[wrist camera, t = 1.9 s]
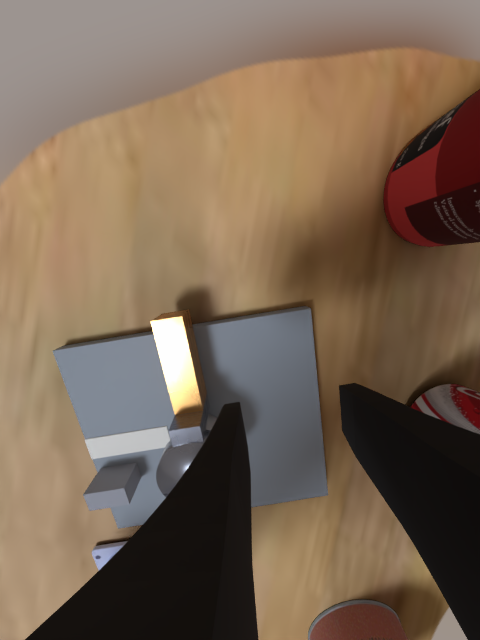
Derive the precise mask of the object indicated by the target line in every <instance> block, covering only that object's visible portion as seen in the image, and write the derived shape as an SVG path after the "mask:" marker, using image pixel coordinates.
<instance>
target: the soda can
mask: <svg viewBox="0 0 480 640" xmlns="http://www.w3.org/2000/svg"><path fill="white" fill-rule="evenodd" d="M411 408H413V409H416V410H418V411H420V412H423V413H425V414H428V415H430V416H433V417H435V418H438V419H440V420H443V421H445V422H448V423H450V424H453V425H455V426H458V427H461V428H464V429H466V430H469V431H472V432H475V433H478V434H480V393H479V392H477V391H474V390H472V389H469V388H467V387H464V386H462V385H457V384H445V385H440V386H437V387H434V388H432V389H430V390H428V391H426V392H425V393H423V394H422V395H421V396H420V397H418V398H417V399H416V401H415V402H414V403H413V404H412V406H411Z"/></svg>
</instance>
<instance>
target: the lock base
mask: <svg viewBox="0 0 480 640" xmlns="http://www.w3.org/2000/svg"><path fill="white" fill-rule="evenodd" d="M193 330H194V335H195V339H196V344H197V349H198V353H199V358H200V363H201V367H202V372H203V376H204V381H205V386H206V390H207V395H208V400H209V404H210V407H209V413H208V419H207V425H206V430H210V431H211V429H212V427H213V425H214V423H215V421H216V419H217V417H218V415H219V413H220V411H221V409H222V407H223V406H224V404H229V403H235V402H240V405H241V411H242V416H243V422H244V427H245V433H246V438H247V444H248V452H249V461H250V471H251V507H257V506H263V505H269V504H276V503H282V502H288V501H295V500H301V499H307V498H313V497H320V496H326V495H328V489H327V478H326V468H325V457H324V446H323V435H322V424H321V413H320V403H319V392H318V381H317V370H316V359H315V348H314V338H313V327H312V316H311V308H309V307H307V306H302V307H296V308H290V309H284V310H278V311H272V312H265V313H259V314H253V315H247V316H241V317H235V318H229V319H223V320H217V321H211V322H205V323H199V324H193ZM53 353H54V356H55V359H56V361H57V364H58V367H59V370H60V372H61V375H62V378H63V380H64V383H65V386H66V389H67V391H68V394H69V397H70V399H71V402H72V405H73V407H74V410H75V413H76V416H77V418H78V421H79V424H80V426H81V429H82V432H83V435H84V437H85V442H86V445H87V448H88V450H89V453H90V456H91V458H92V459H93V462H94V464H95V467H96V470H97V472H98V473H97V475H96V476H95V478H94V479H93V481H92V482H91V484H90V485H89V487H88V488H87V490H86V491H85V493H84V494H83V495H84V498H85V500H86V503H87V505H88V508H89V510H90V511H91V510H97V509H104V508H111V510H112V513H113V516H114V518H115V521H116V524H117V527H118V529H119V528H125V527H131V526H137V525H143V524H144V523H145V522H146V520H147V519H148V518H149V517H150V516H151V515H152V514H153V512H154V511H155V510H156V509H157V508H158V506H159V505H160V504H161V503H162V502H163V500H164V499H165V498H166V497H165V496H164V495H163V494H162V492H161V491H160V489H159V487H158V485H157V481H156V471H157V467H158V464H159V462H160V459H161V456H162V454H163V451H164V449H165V446H166V445H167V443H168V442H169V441H170V440H171V439H170V435H169V429H170V426H171V423H172V421H173V418H174V416H175V414H174V410H173V406H172V402H171V399H170V395H169V391H168V387H167V383H166V379H165V375H164V371H163V367H162V364H161V360H160V356H159V352H158V348H157V344H156V340H155V336H154V333H153V331H150V332H144V333H138V334H132V335H126V336H120V337H113V338H107V339H101V340H95V341H89V342H83V343H77V344H71V345H65V346H62V347H60V348H58V349H56V350H53Z"/></svg>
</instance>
